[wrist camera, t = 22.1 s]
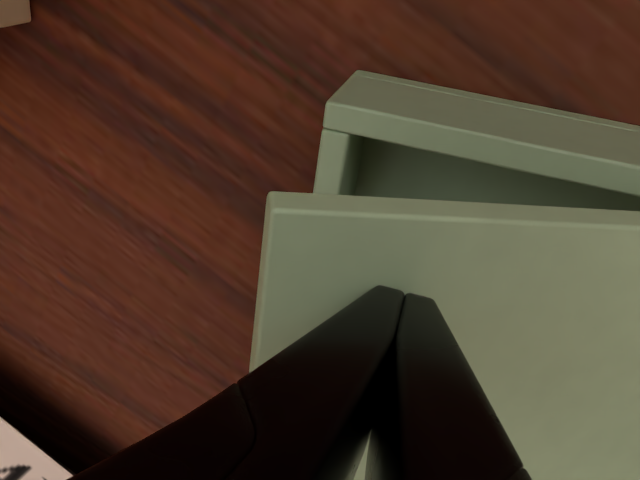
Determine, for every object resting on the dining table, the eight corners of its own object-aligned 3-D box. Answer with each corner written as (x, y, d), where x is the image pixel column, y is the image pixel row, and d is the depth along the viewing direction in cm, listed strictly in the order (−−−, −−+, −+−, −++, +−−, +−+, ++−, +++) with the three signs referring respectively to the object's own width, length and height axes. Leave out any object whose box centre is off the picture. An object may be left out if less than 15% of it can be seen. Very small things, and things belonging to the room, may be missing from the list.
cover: (222, 630, 14) (222, 659, 13) (267, 188, 8) (270, 209, 8) (646, 590, 16) (661, 613, 15) (907, 223, 10) (943, 241, 10)
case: (302, 397, 20) (272, 470, 18) (356, 68, 15) (325, 100, 12) (627, 492, 19) (650, 589, 16) (825, 162, 13) (913, 223, 10)
